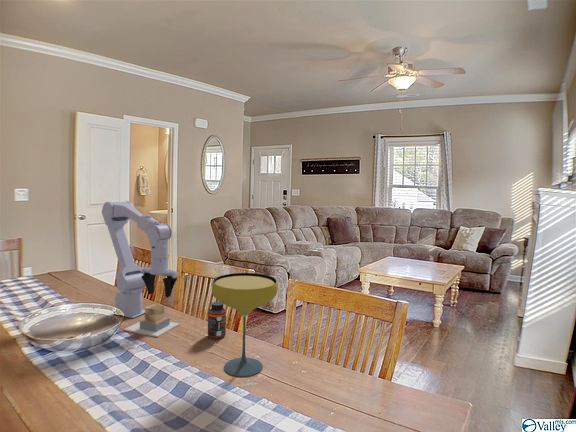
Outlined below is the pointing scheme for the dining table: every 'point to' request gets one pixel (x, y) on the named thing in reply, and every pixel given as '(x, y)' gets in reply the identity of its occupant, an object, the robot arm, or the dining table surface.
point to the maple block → (154, 313)
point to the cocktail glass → (244, 309)
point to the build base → (150, 333)
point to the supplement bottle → (216, 321)
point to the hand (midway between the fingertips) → (159, 295)
